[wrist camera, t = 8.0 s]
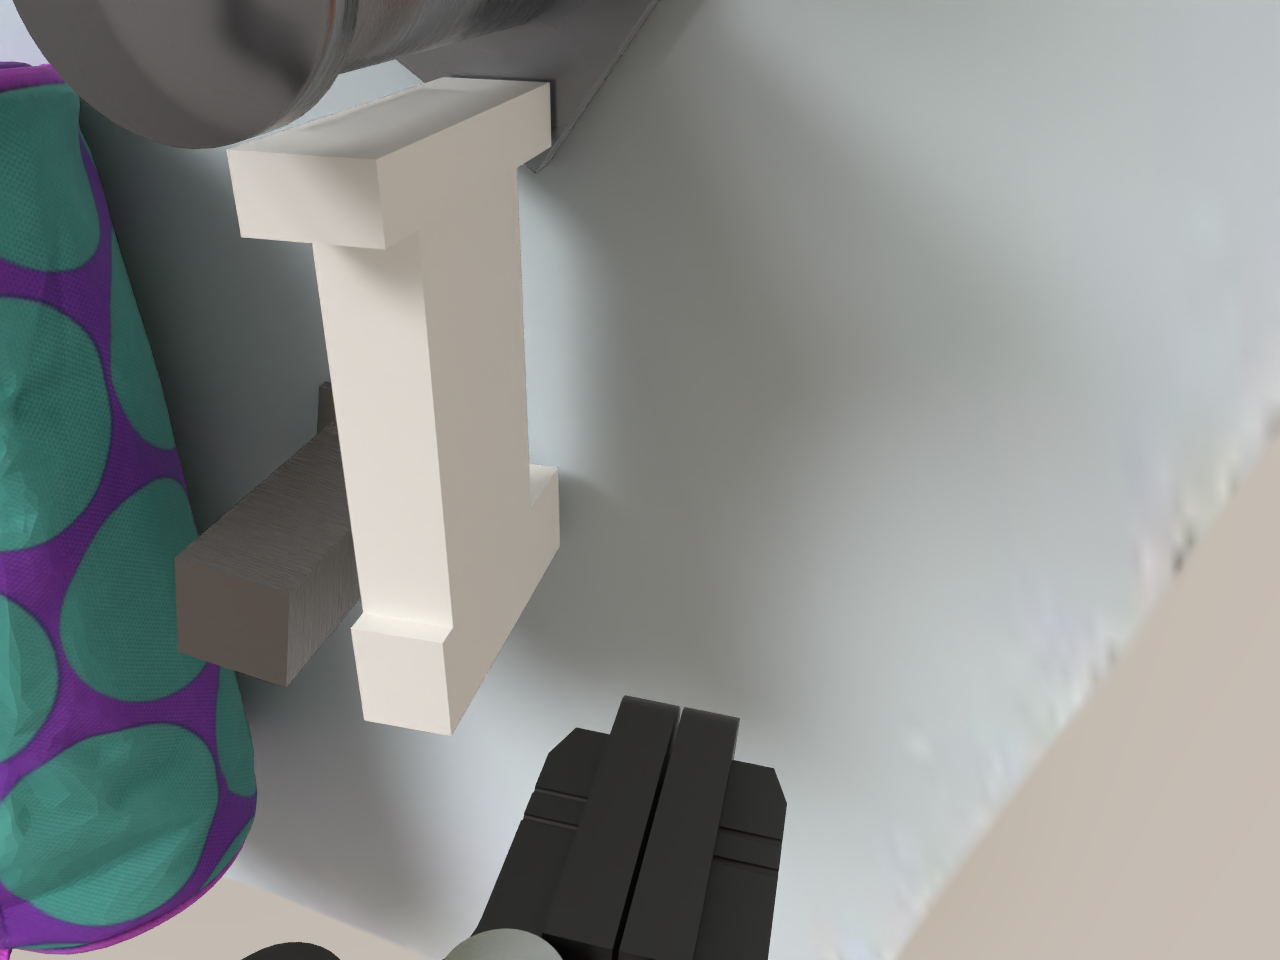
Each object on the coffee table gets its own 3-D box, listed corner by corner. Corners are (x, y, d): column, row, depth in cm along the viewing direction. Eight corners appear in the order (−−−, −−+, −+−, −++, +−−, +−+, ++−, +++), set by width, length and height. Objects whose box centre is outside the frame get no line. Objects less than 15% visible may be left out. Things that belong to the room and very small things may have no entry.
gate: (452, 73, 21) (225, 149, 14) (557, 79, 20) (375, 159, 14) (484, 535, 26) (329, 753, 19) (567, 547, 26) (440, 775, 19)
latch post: (319, 502, 28) (152, 665, 22) (325, 381, 26) (145, 522, 20) (446, 541, 27) (312, 718, 21) (461, 422, 25) (319, 578, 19)
